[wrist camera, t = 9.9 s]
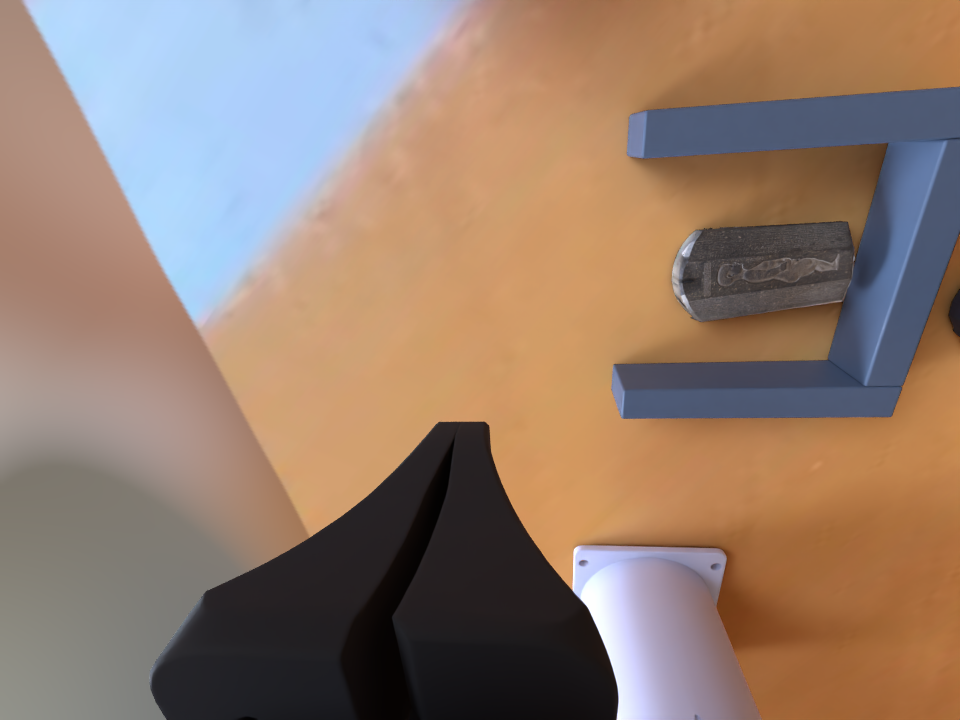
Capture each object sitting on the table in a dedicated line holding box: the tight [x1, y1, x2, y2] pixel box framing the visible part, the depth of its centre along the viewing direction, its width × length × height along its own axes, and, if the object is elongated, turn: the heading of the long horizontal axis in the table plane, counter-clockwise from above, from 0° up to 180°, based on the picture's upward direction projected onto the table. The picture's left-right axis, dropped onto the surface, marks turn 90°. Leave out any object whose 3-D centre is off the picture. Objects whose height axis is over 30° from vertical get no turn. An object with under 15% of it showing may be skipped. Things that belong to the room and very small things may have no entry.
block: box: [672, 221, 854, 322], centre depth 18 cm, size 4×6×2 cm, turn 102°
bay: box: [612, 87, 960, 419], centre depth 17 cm, size 11×10×2 cm
